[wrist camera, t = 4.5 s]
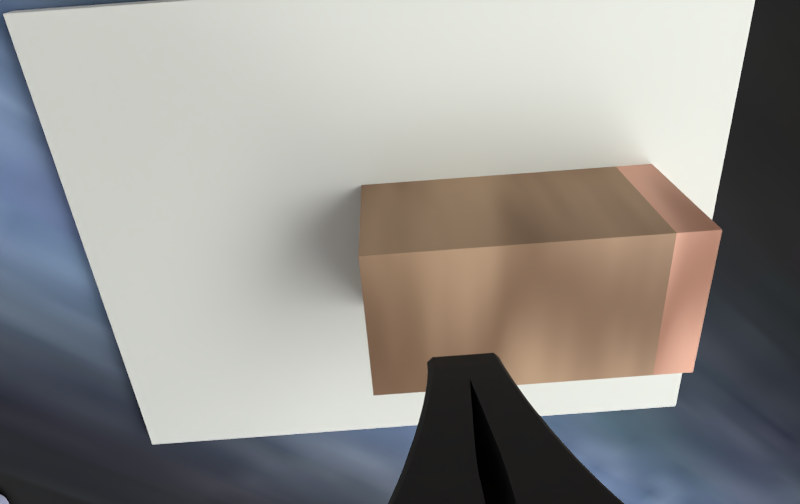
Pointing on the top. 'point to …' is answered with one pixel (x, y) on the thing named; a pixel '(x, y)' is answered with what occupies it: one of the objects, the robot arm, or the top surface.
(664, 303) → the walnut block
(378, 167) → the mat
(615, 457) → the top surface
